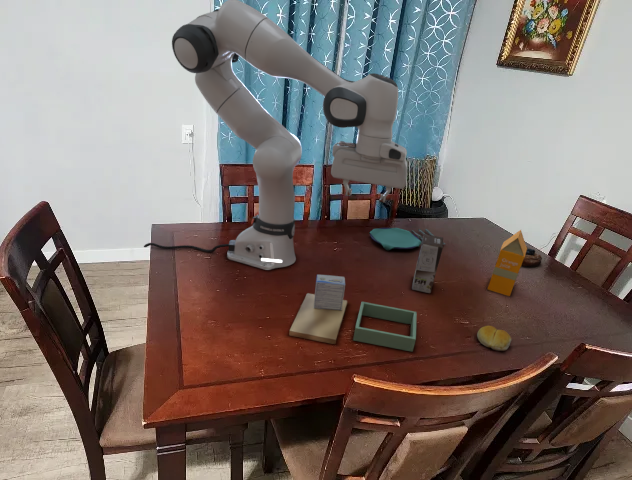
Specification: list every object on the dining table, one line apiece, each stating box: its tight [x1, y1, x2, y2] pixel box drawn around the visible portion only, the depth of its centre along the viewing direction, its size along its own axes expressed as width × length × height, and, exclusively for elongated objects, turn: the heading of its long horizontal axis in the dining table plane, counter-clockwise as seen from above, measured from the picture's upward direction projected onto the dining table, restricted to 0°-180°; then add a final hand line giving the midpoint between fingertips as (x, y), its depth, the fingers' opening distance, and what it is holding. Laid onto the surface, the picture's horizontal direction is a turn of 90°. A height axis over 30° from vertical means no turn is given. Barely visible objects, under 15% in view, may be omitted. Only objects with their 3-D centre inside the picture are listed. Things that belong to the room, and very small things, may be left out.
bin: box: [352, 301, 418, 352], centre depth 118 cm, size 16×14×4 cm
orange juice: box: [487, 229, 527, 297], centre depth 145 cm, size 8×9×20 cm
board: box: [288, 292, 348, 345], centre depth 120 cm, size 12×20×2 cm, turn 172°
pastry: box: [521, 245, 543, 268], centre depth 172 cm, size 11×12×6 cm
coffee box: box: [411, 233, 444, 294], centre depth 141 cm, size 9×6×16 cm
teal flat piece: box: [369, 227, 446, 251], centre depth 174 cm, size 20×30×2 cm, turn 113°
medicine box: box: [314, 274, 346, 310], centre depth 122 cm, size 8×4×9 cm, turn 92°
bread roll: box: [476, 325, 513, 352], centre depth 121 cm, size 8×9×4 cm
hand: (365, 198), depth 121 cm, fingers open, 8 cm apart
